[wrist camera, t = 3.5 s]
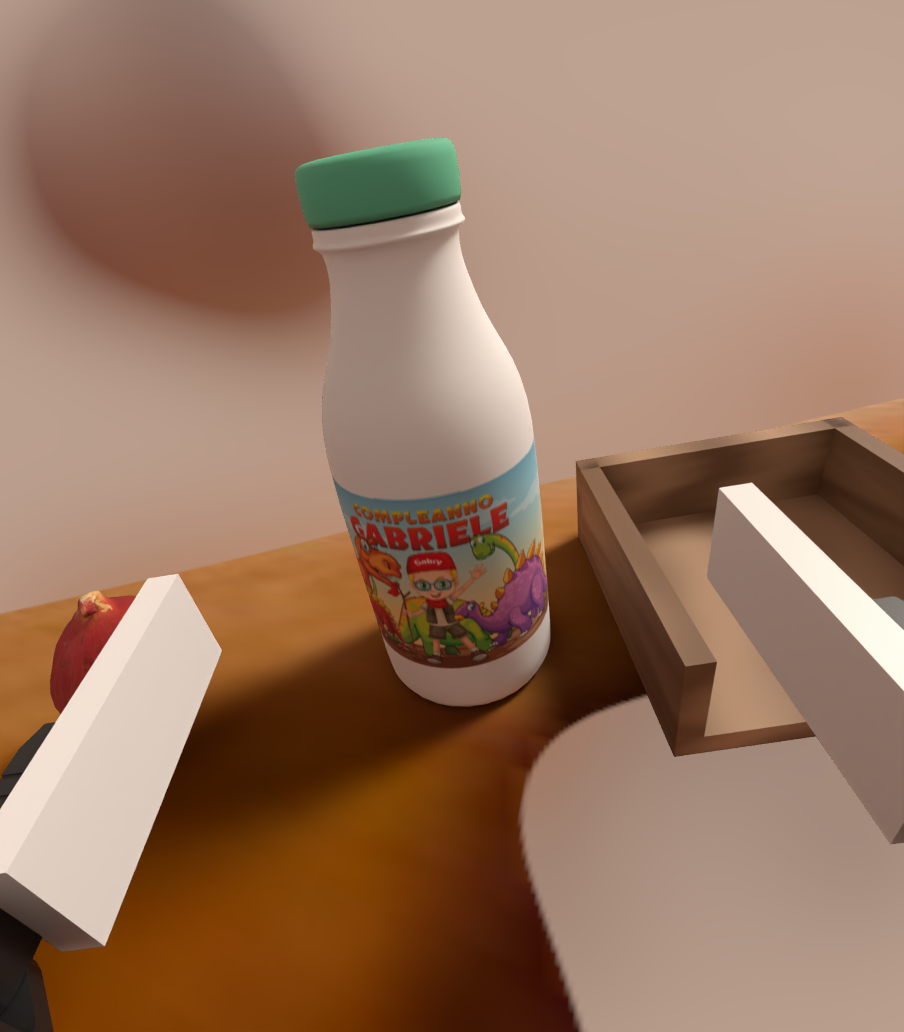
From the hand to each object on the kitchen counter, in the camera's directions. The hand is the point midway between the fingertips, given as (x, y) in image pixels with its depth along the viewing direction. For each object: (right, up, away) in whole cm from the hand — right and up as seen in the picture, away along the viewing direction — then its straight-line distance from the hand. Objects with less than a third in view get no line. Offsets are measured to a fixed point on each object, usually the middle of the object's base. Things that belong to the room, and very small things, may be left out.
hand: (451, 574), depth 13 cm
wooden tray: (+15, -2, +12) cm, 19 cm away
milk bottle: (+1, -5, +13) cm, 14 cm away
